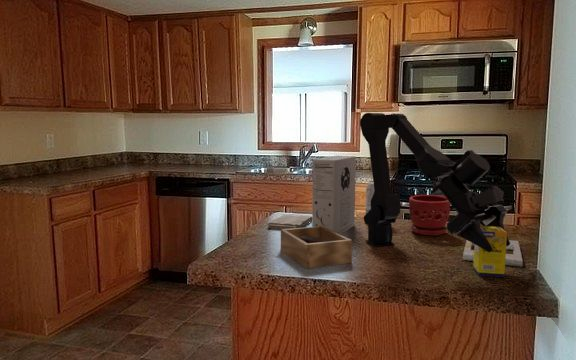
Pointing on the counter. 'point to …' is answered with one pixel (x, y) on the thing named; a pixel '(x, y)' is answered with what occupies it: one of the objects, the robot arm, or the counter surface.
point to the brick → (313, 239)
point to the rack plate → (510, 258)
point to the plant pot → (429, 214)
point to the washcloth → (289, 222)
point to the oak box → (316, 247)
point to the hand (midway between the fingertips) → (500, 248)
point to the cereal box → (334, 193)
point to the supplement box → (491, 253)
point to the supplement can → (369, 195)
